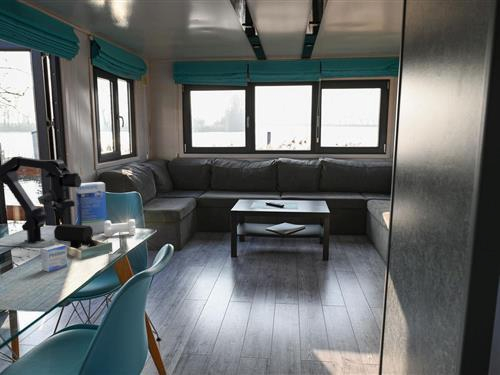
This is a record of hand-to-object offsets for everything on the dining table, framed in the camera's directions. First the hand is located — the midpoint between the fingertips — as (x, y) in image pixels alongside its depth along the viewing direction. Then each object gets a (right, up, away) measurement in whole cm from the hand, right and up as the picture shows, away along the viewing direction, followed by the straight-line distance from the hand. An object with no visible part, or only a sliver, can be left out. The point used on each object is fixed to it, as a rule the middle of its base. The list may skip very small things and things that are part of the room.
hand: (59, 219), depth 182 cm
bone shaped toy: (+24, -9, +15) cm, 30 cm away
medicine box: (+14, -16, -32) cm, 39 cm away
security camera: (+11, -12, -6) cm, 18 cm away
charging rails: (+15, -13, -9) cm, 22 cm away
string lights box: (+8, -8, +19) cm, 22 cm away
